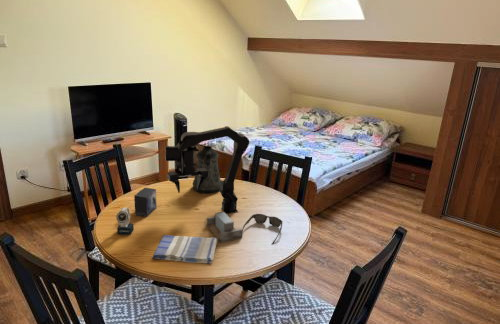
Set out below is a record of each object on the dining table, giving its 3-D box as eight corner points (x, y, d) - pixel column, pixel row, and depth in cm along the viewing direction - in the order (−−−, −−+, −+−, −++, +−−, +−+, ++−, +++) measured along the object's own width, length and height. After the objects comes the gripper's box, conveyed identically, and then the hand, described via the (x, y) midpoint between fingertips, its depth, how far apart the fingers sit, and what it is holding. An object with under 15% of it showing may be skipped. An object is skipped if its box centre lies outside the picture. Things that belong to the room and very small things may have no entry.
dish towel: (212, 265, 130) (212, 259, 129) (151, 261, 131) (150, 254, 130) (219, 241, 147) (219, 235, 146) (164, 237, 148) (164, 231, 147)
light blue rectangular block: (223, 223, 159) (223, 211, 157) (233, 234, 149) (233, 222, 148) (214, 224, 157) (215, 213, 155) (224, 236, 148) (225, 224, 146)
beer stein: (212, 181, 210) (213, 141, 202) (229, 192, 195) (231, 150, 187) (187, 186, 200) (187, 144, 192) (203, 198, 185) (204, 154, 178)
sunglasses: (285, 227, 160) (285, 218, 158) (274, 249, 146) (275, 239, 144) (251, 220, 165) (251, 211, 163) (238, 240, 151) (238, 231, 149)
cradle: (226, 221, 162) (227, 214, 161) (241, 237, 149) (242, 229, 148) (206, 225, 158) (206, 217, 156) (220, 242, 145) (220, 234, 143)
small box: (147, 217, 162) (146, 197, 159) (134, 215, 163) (133, 195, 160) (157, 208, 172) (156, 188, 169) (145, 206, 173) (144, 187, 170)
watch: (116, 236, 145) (114, 213, 142) (122, 227, 153) (120, 204, 149) (129, 237, 145) (127, 213, 142) (135, 227, 153) (133, 205, 149)
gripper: (201, 153, 170) (201, 182, 175) (163, 157, 161) (164, 187, 166) (209, 159, 161) (209, 190, 166) (169, 164, 152) (170, 196, 157)
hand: (188, 191), depth 164 cm, fingers open, 9 cm apart
